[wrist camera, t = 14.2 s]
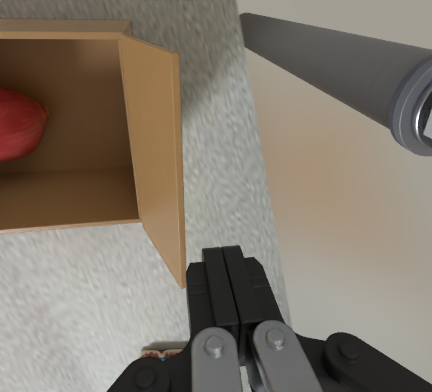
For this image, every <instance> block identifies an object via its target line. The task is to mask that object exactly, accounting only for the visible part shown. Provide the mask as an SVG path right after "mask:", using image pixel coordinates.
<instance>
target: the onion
mask: <svg viewBox="0 0 432 392" xmlns="http://www.w3.org/2000/svg"><path fill="white" fill-rule="evenodd" d="M48 118H49V112H48V110H47V108H46V107H45V106H44V105H43V104H40V103H38V102H36V101H34V100H33V99H31V98H29V97H27V96H25V95H23V94H21V93H19V92H17V91H15V90H12V89H8V88H4V87H0V161H4V162H7V161H14V160H18V159H21V158H24V157H26V156H28V155H29V154H31V153H32V152H34V151H35V149H36V148H37V147H38V145H39V144H40V142H41V140H42V137H43V134H44V131H45V127H46V123H47V121H48Z"/></svg>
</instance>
